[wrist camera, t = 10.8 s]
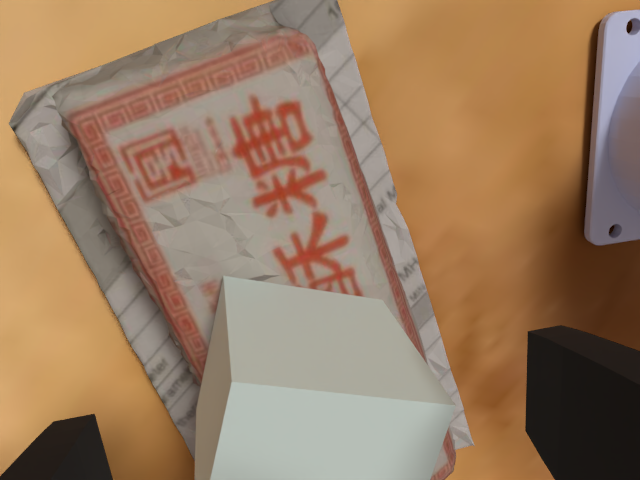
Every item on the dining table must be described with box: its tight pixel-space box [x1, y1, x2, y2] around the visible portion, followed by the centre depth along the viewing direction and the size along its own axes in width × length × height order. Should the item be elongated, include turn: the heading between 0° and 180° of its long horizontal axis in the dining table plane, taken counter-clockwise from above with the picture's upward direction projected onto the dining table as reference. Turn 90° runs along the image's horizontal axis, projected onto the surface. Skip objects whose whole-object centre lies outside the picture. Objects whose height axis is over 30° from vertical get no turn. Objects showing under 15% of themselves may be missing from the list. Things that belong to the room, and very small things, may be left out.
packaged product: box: [9, 0, 474, 480], centre depth 18 cm, size 18×5×10 cm
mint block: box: [195, 276, 456, 480], centre depth 14 cm, size 4×4×5 cm
